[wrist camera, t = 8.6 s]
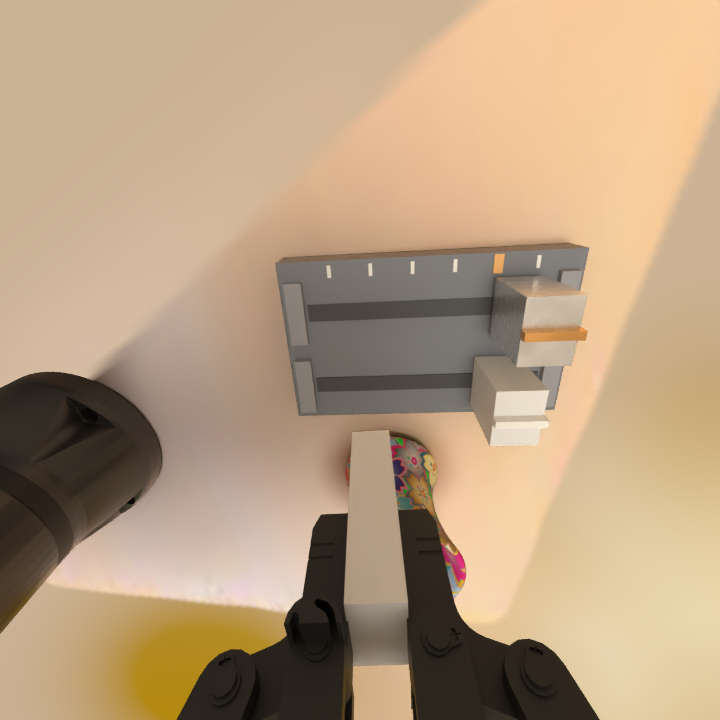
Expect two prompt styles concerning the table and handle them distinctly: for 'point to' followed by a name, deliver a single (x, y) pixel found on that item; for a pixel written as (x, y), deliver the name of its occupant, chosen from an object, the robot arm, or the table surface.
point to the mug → (421, 497)
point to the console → (418, 335)
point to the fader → (537, 320)
